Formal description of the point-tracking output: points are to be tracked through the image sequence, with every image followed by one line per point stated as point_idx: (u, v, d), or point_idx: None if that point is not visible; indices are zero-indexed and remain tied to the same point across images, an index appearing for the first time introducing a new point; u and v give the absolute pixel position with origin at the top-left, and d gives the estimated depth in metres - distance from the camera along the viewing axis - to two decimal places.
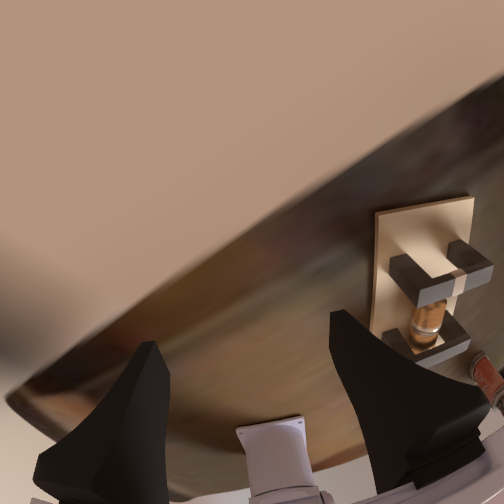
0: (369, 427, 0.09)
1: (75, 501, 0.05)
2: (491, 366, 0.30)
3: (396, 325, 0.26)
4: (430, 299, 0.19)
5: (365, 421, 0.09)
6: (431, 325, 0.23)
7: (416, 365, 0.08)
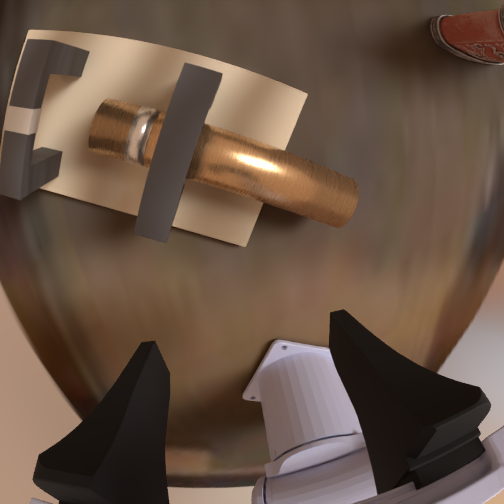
0: (369, 427, 0.09)
1: (75, 501, 0.05)
2: (460, 16, 0.11)
3: None
4: (15, 176, 0.11)
5: (365, 421, 0.09)
6: (118, 145, 0.13)
7: (416, 365, 0.08)
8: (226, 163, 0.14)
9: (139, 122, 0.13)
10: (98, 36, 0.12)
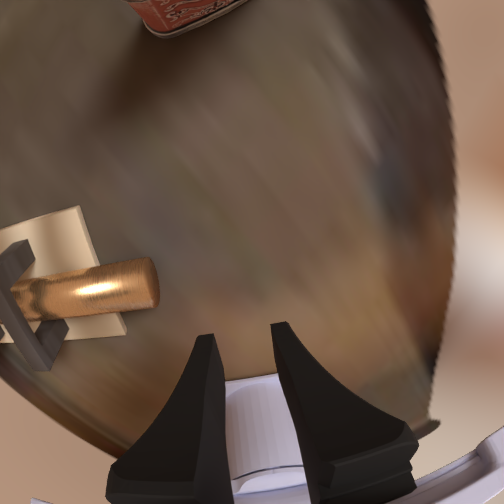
0: (301, 445, 0.09)
1: None
2: None
3: None
4: None
5: (299, 438, 0.09)
6: None
7: (342, 388, 0.08)
8: (47, 309, 0.16)
9: None
10: None
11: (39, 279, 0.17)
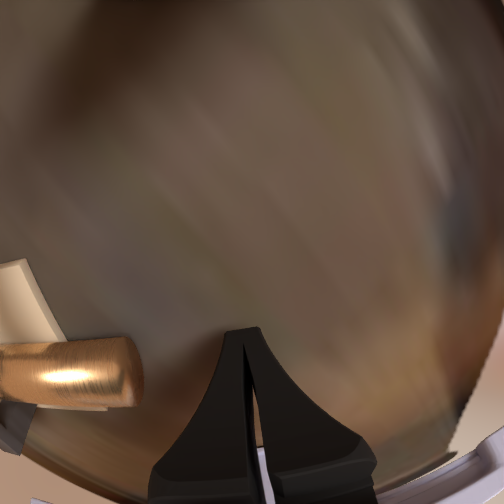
0: None
1: None
2: None
3: None
4: None
5: None
6: None
7: (303, 397, 0.08)
8: (2, 393, 0.10)
9: None
10: None
11: None
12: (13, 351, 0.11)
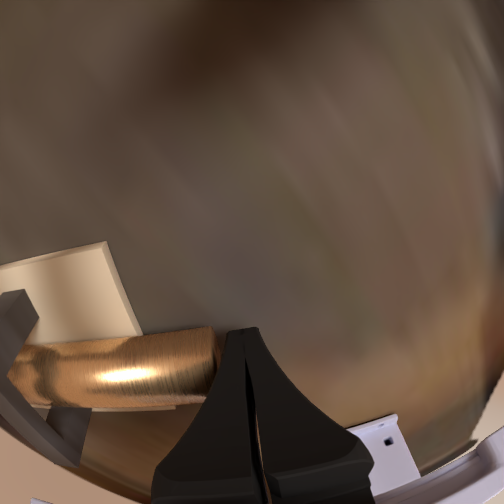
0: None
1: None
2: None
3: None
4: None
5: None
6: None
7: (301, 398, 0.08)
8: (56, 398, 0.10)
9: None
10: None
11: (39, 353, 0.10)
12: (71, 350, 0.11)
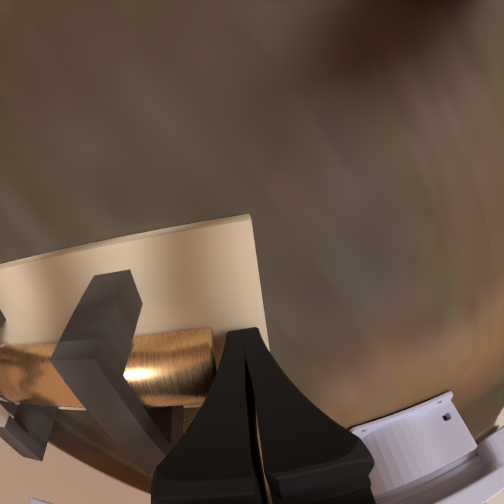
0: None
1: None
2: None
3: None
4: (24, 449, 0.10)
5: None
6: None
7: (301, 398, 0.08)
8: (55, 398, 0.10)
9: None
10: None
11: (38, 352, 0.10)
12: None
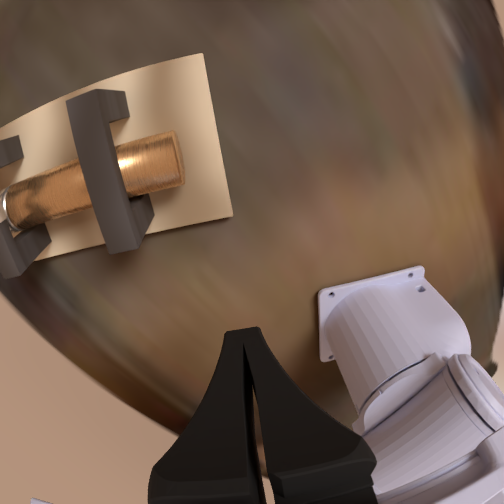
0: None
1: None
2: None
3: None
4: (8, 259, 0.13)
5: None
6: None
7: (303, 397, 0.08)
8: (55, 203, 0.14)
9: None
10: (17, 120, 0.14)
11: (45, 173, 0.14)
12: (71, 162, 0.14)
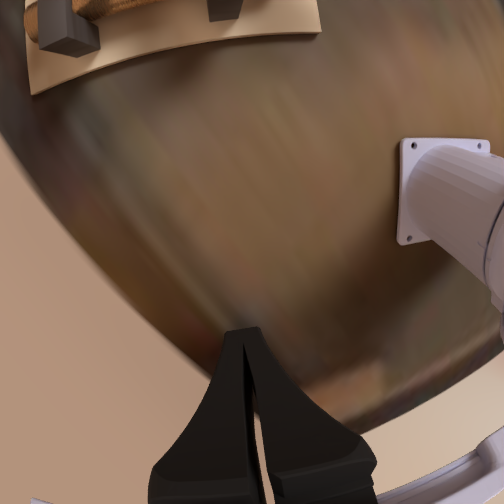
0: None
1: None
2: None
3: (201, 1, 0.13)
4: (58, 20, 0.09)
5: None
6: None
7: (303, 397, 0.08)
8: None
9: None
10: None
11: None
12: None
